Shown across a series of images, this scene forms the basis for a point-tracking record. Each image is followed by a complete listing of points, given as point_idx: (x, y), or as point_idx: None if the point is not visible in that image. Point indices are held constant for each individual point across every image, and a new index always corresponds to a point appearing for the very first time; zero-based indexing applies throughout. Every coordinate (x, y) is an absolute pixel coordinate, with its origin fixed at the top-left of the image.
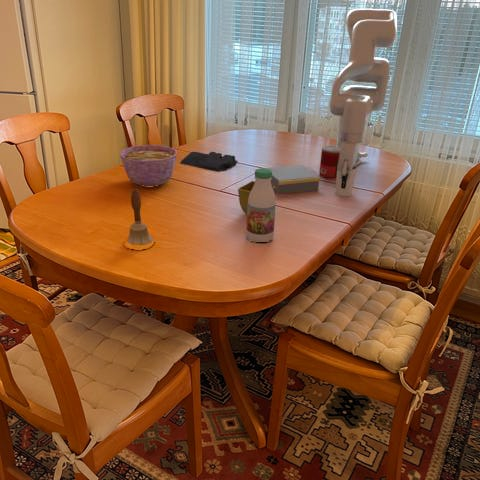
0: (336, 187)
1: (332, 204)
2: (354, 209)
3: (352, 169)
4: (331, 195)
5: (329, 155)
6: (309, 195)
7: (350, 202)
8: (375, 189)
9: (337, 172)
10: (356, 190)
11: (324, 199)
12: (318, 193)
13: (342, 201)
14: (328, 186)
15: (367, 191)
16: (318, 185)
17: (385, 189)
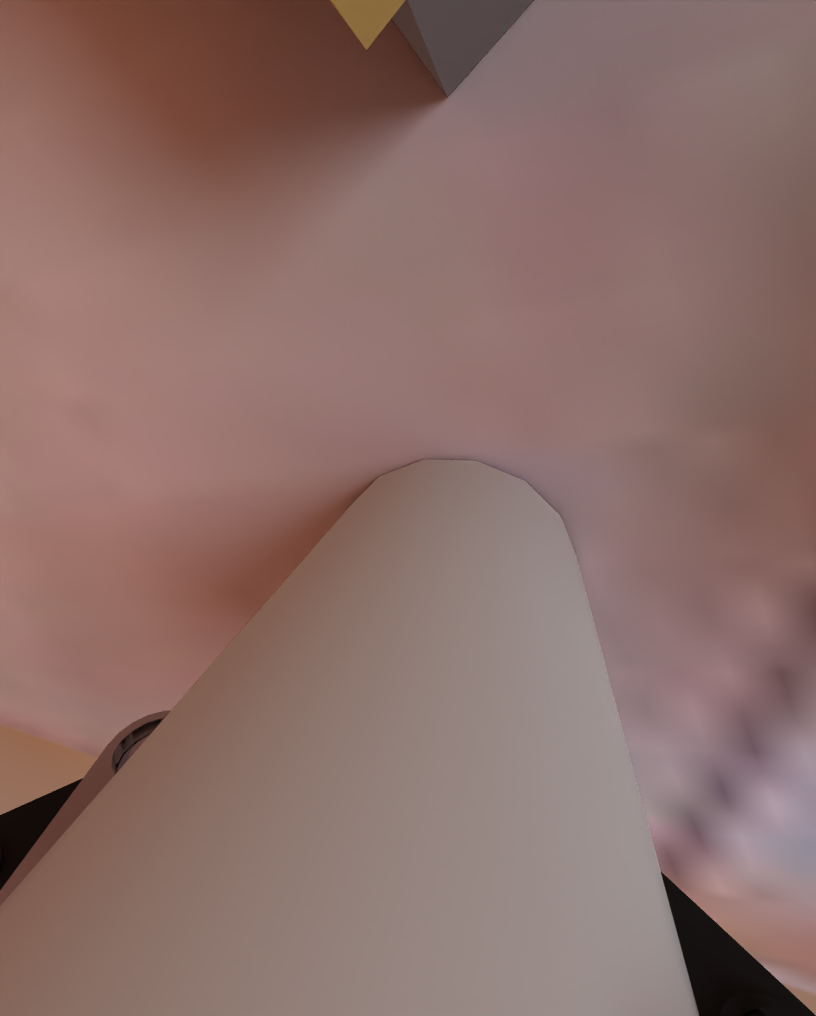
0: (351, 515)
1: (7, 477)
2: (54, 687)
3: None
4: (288, 419)
5: None
6: (63, 18)
7: (197, 654)
8: (767, 899)
9: (193, 747)
10: (655, 719)
11: (80, 346)
12: (257, 174)
13: (169, 576)
14: (745, 279)
15: (657, 823)
16: (431, 62)
17: (795, 974)
